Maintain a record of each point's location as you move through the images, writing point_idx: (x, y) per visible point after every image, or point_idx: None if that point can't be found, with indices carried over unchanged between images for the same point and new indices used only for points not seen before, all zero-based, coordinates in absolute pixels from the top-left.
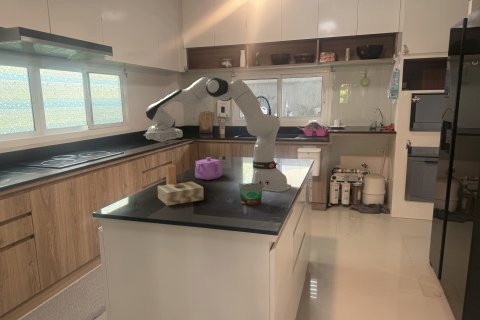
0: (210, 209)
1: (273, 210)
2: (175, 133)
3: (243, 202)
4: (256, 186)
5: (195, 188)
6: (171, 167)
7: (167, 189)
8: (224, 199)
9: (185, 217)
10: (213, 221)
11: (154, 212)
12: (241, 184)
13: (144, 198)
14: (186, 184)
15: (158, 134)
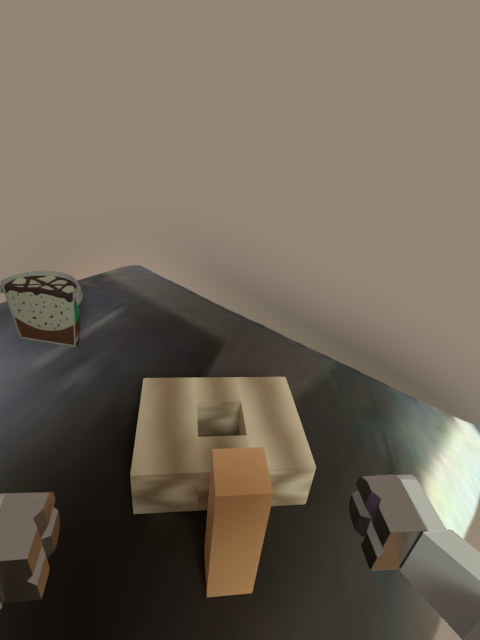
0: (174, 347)
1: None
2: (43, 500)
3: (79, 331)
4: (53, 274)
5: (175, 379)
6: (241, 451)
7: (277, 406)
8: (83, 389)
9: (249, 335)
10: (203, 306)
11: (319, 381)
12: (77, 286)
13: None
14: (182, 436)
15: (419, 491)
